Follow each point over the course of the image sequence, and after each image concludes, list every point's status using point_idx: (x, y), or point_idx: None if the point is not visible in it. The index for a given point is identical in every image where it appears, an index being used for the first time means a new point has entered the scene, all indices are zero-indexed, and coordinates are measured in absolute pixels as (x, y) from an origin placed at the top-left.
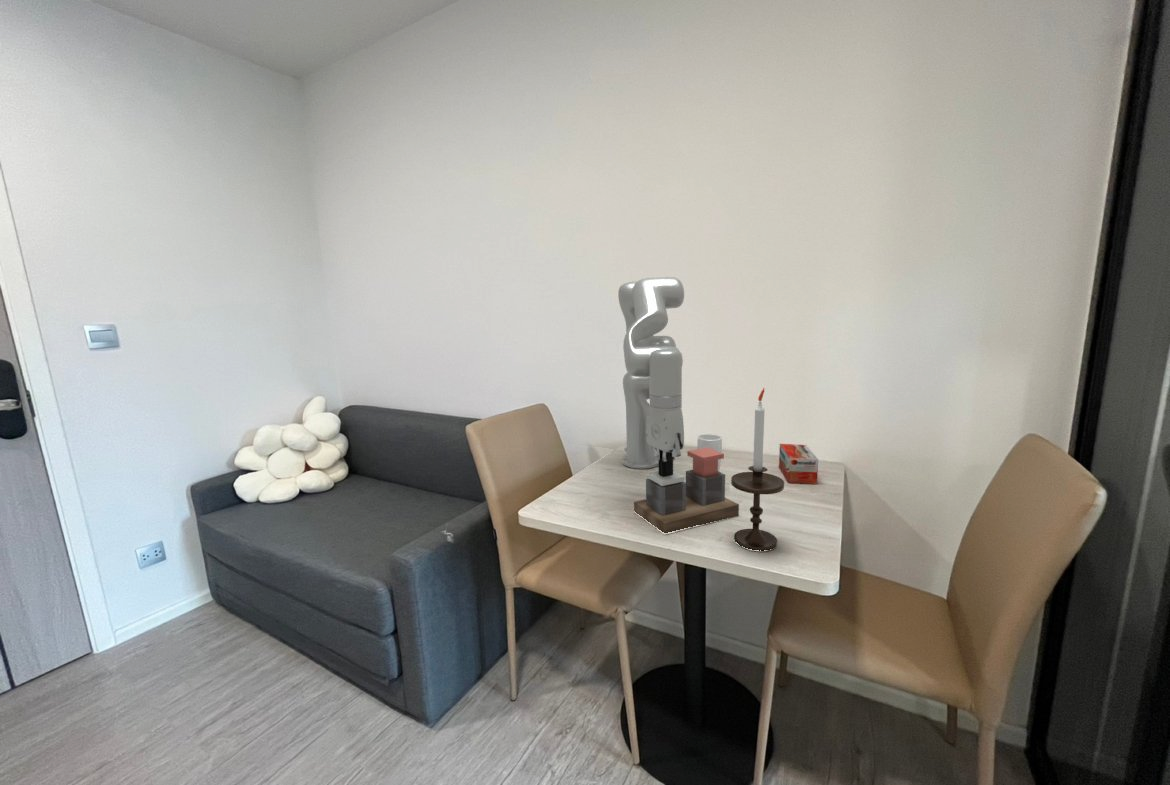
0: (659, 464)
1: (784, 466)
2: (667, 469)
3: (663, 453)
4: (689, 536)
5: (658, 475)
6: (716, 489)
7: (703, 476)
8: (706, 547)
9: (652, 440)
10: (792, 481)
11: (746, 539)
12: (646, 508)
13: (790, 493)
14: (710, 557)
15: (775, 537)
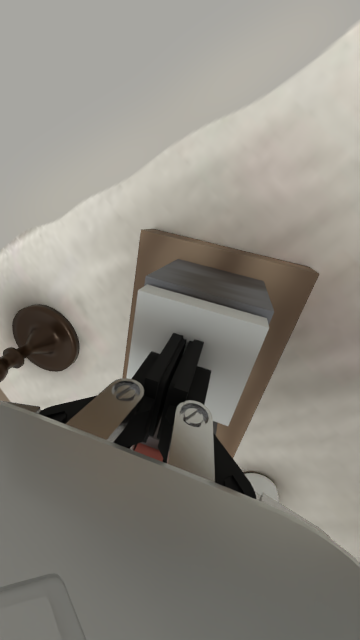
0: (183, 370)
1: None
2: (143, 364)
3: (108, 424)
4: (119, 269)
5: (202, 336)
6: None
7: (138, 445)
8: (68, 257)
9: (181, 585)
10: None
11: (49, 328)
12: (248, 265)
13: None
14: (37, 230)
15: (32, 361)
